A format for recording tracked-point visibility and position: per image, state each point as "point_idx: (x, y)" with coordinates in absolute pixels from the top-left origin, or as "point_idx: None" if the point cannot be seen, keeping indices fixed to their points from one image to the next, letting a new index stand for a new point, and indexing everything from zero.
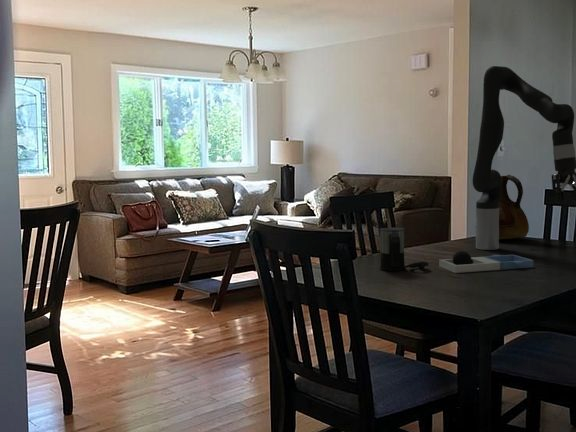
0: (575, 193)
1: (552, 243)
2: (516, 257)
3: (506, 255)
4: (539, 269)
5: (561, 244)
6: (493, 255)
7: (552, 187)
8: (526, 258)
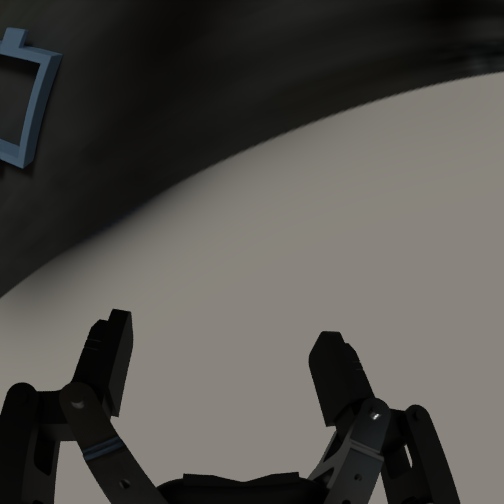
0: (329, 384)
1: (486, 23)
2: (35, 86)
3: (26, 56)
4: (27, 188)
5: (483, 47)
6: (5, 36)
7: (2, 408)
8: (27, 135)
